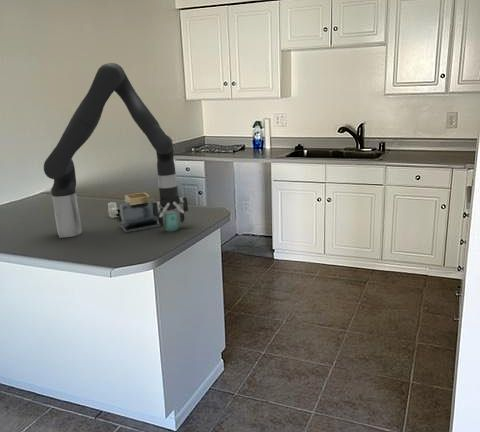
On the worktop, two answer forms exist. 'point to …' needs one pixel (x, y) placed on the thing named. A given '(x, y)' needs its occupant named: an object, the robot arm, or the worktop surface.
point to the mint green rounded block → (171, 221)
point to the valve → (113, 210)
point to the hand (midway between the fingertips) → (172, 223)
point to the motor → (138, 213)
